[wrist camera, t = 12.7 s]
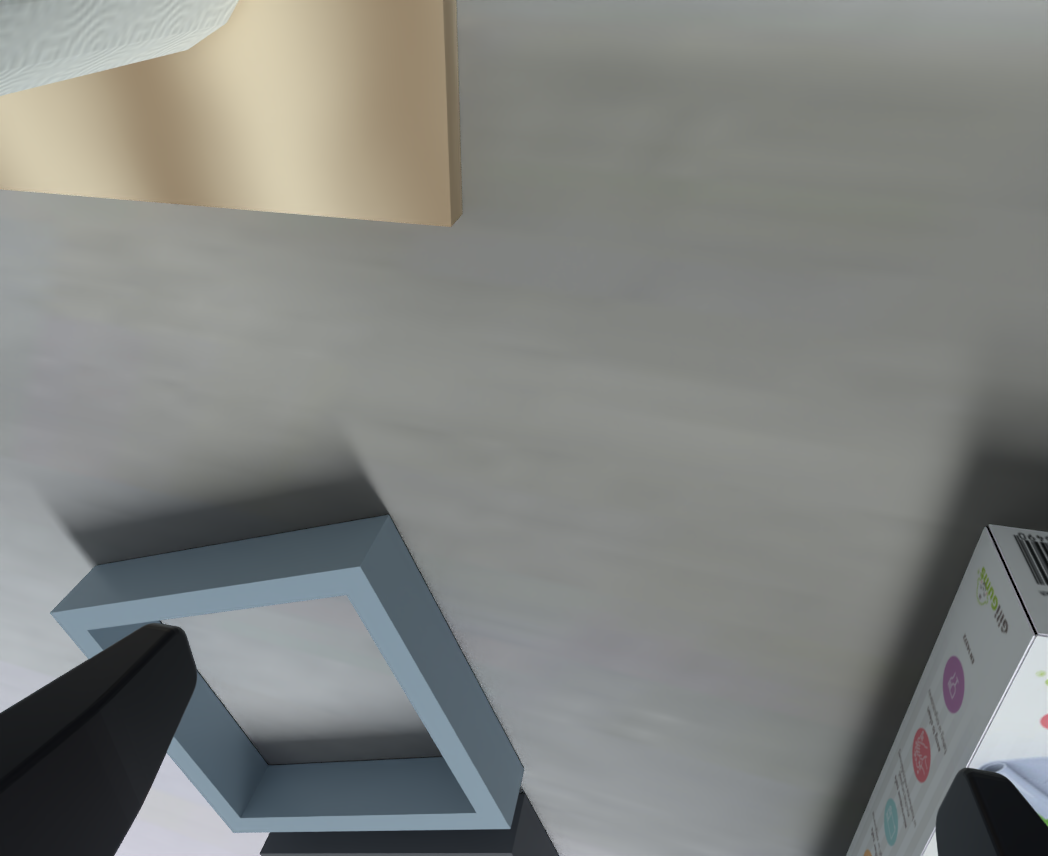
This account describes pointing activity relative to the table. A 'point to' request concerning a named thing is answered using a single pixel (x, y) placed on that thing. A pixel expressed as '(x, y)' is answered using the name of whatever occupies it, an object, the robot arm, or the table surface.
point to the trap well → (421, 840)
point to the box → (972, 699)
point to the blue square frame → (401, 636)
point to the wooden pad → (263, 117)
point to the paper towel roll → (96, 35)
